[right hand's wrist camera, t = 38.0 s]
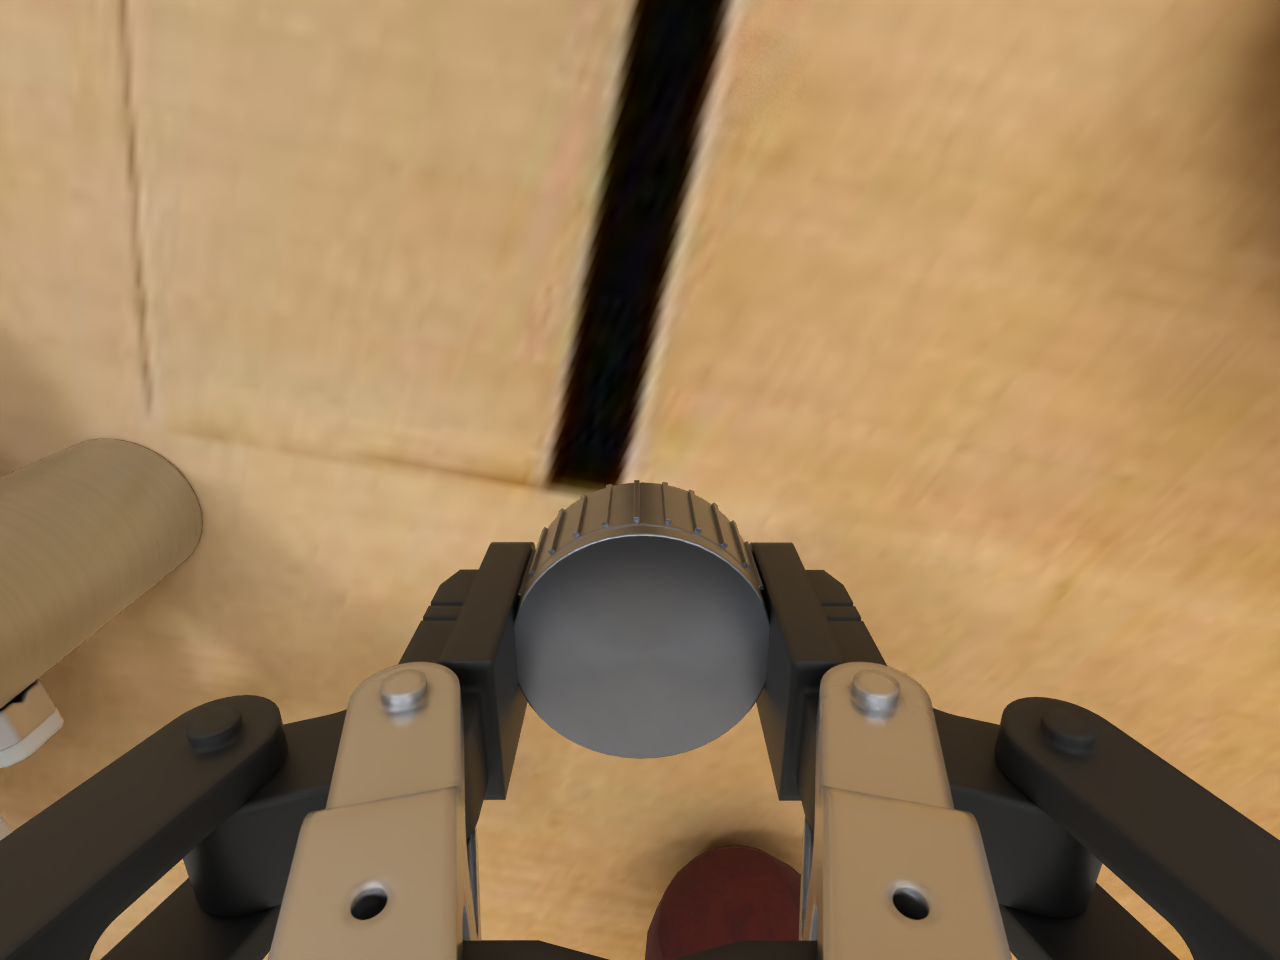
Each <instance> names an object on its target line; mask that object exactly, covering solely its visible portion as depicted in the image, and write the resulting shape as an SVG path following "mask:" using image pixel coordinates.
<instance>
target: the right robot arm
mask: <svg viewBox="0 0 1280 960" xmlns="http://www.w3.org/2000/svg"><path fill="white" fill-rule="evenodd" d="M749 546H750V549H751V552H752V555H753V558H754V561H755V564H756V567H757V570H758V572H759V575H760V578H761V581H762V584H763V587H764V590H762V591H761V593H762V596H763V599H764V602H765V605H766V608H767V611H768V614H769V618H770V631H769V644H768V658H767V671H766V683H765V686H764V688H763V690H762V692H761V694H760V696H759V698H758V699H757V701H756V703H757V708H758V712H759V716H760V721H761V725H762V729H763V733H764V738H765V742H766V746H767V750H768V755H769V759H770V763H771V768H772V772H773V776H774V780H775V785H776V789H777V793H778V797H779V801H802V805H803V808H804V812H805V822H804V831H803V840H802V864H801V892H800V920H799V940H741V941H738V942H734V943H730V944H727V945H723V946H719V947H716V948H712V949H708V950H705V951H701V952H697V953H694V954H690V955H686V956H683V957H679V958H675V959H672V960H1012V957H1011V953H1010V951H1011V952H1012V954H1013V955H1014V956H1015V957H1016V958H1017V959H1018V960H1179V959H1178V958H1177V957H1176V956H1175V955H1174V954H1173V953H1172V952H1171V951H1170V950H1168V949H1167V948H1166V947H1165V946H1164V945H1163V944H1162V943H1161V942H1160V941H1159V940H1158V939H1157V938H1156V937H1154V936H1153V935H1152V934H1151V933H1150V932H1149V931H1148V930H1147V929H1146V928H1145V927H1144V926H1143V925H1142V924H1140V923H1139V922H1138V921H1137V920H1136V919H1135V918H1134V917H1133V916H1132V915H1131V914H1130V913H1129V912H1128V911H1126V910H1125V909H1124V908H1123V907H1122V906H1121V905H1120V904H1119V903H1118V902H1117V901H1116V900H1115V899H1114V898H1112V897H1111V896H1110V895H1109V894H1108V893H1107V892H1106V891H1105V890H1104V889H1103V888H1102V887H1101V886H1100V885H1098V884H1097V883H1096V881H1097V878H1098V875H1099V872H1100V869H1101V866H1102V863H1103V864H1104V865H1105V866H1106V867H1108V868H1109V869H1110V870H1111V871H1112V872H1113V873H1114V874H1115V875H1116V876H1118V877H1119V878H1120V879H1121V880H1122V881H1123V882H1124V883H1125V884H1127V885H1128V886H1129V887H1130V888H1131V889H1132V890H1133V891H1134V892H1135V893H1137V894H1138V895H1139V896H1140V897H1141V898H1142V899H1143V900H1144V901H1146V902H1147V903H1148V904H1149V905H1150V906H1151V907H1152V908H1153V909H1155V910H1156V911H1157V912H1158V913H1159V914H1160V915H1161V916H1162V917H1163V918H1165V919H1166V920H1167V921H1168V922H1169V923H1170V924H1171V925H1172V926H1173V927H1174V928H1175V929H1176V931H1177V932H1178V933H1179V934H1180V935H1181V937H1182V938H1183V940H1184V941H1185V943H1186V944H1187V946H1188V948H1189V949H1190V952H1191V954H1192V956H1193V958H1194V960H1280V840H1278V839H1277V838H1275V837H1274V836H1273V835H1271V834H1270V833H1268V832H1267V831H1265V830H1264V829H1262V828H1261V827H1260V826H1258V825H1257V824H1255V823H1254V822H1252V821H1251V820H1249V819H1248V818H1247V817H1245V816H1244V815H1242V814H1241V813H1239V812H1238V811H1237V810H1235V809H1234V808H1232V807H1231V806H1229V805H1228V804H1226V803H1225V802H1224V801H1222V800H1221V799H1219V798H1218V797H1216V796H1215V795H1213V794H1212V793H1211V792H1209V791H1208V790H1206V789H1205V788H1203V787H1202V786H1201V785H1199V784H1198V783H1196V782H1195V781H1193V780H1192V779H1190V778H1189V777H1188V776H1186V775H1185V774H1183V773H1182V772H1180V771H1179V770H1177V769H1176V768H1175V767H1173V766H1172V765H1170V764H1169V763H1167V762H1166V761H1165V760H1163V759H1162V758H1160V757H1159V756H1157V755H1156V754H1154V753H1153V752H1152V751H1150V750H1149V749H1147V748H1146V747H1144V746H1143V745H1142V744H1140V743H1139V742H1137V741H1136V740H1134V739H1133V738H1131V737H1130V736H1129V735H1127V734H1126V733H1124V732H1123V731H1121V730H1120V729H1118V728H1117V727H1116V726H1114V725H1113V724H1111V723H1110V722H1108V721H1107V720H1105V719H1104V718H1102V717H1100V716H1099V715H1097V714H1095V713H1093V712H1091V711H1089V710H1087V709H1085V708H1082V707H1080V706H1078V705H1075V704H1072V703H1069V702H1065V701H1061V700H1057V699H1051V698H1044V697H1028V698H1022V699H1018V700H1016V701H1013V702H1011V703H1010V704H1009V705H1007V707H1006V708H1005V709H1004V711H1003V714H1002V718H1001V723H1000V725H997V724H993V723H988V722H983V721H979V720H974V719H969V718H965V717H960V716H956V715H952V714H948V713H945V712H942V711H939V710H937V709H934V708H933V707H932V703H931V700H930V697H929V695H928V694H927V692H926V690H925V689H924V688H923V687H922V686H921V685H920V684H919V683H918V682H917V681H915V680H914V679H913V678H911V677H910V676H908V675H907V674H905V673H903V672H901V671H899V670H896V669H894V668H891V667H888V666H887V665H886V663H885V661H884V659H883V657H882V656H881V654H880V652H879V650H878V648H877V646H876V644H875V643H874V641H873V639H872V637H871V635H870V633H869V631H868V630H867V628H866V626H865V624H864V622H863V621H861V617H860V615H859V613H858V611H857V609H856V607H855V606H853V602H852V600H851V598H850V596H849V594H848V593H847V591H846V589H845V587H844V585H843V584H841V583H840V582H839V581H837V580H836V579H835V578H833V577H832V576H831V575H829V574H828V573H827V572H825V571H824V570H805V569H804V567H803V564H802V562H801V560H800V558H799V556H798V553H797V551H796V549H795V547H794V545H793V543H750V544H749ZM533 549H534V550H536V549H535V545H534V543H533V542H492V543H491V544H490V546H489V548H488V550H487V552H486V555H485V557H484V559H483V561H482V564H481V566H480V568H479V570H459V571H458V572H457V573H455V574H454V575H453V576H451V577H450V578H449V579H447V580H446V581H445V582H443V583H442V584H441V585H440V586H439V588H438V590H437V592H436V594H435V596H434V598H433V600H432V601H431V606H429V607H428V609H427V611H426V613H425V615H424V616H423V621H421V622H420V624H419V626H418V628H417V630H416V632H415V633H414V635H413V637H412V639H411V641H410V643H409V645H408V647H407V649H406V650H405V652H404V654H403V656H402V658H401V660H400V662H399V664H398V665H395V666H392V667H389V668H386V669H384V670H381V671H379V672H377V673H375V674H373V675H372V676H370V677H369V678H367V679H366V680H365V681H363V682H362V683H361V684H360V685H359V686H358V687H357V688H356V689H355V690H354V692H353V694H352V695H351V697H350V700H349V703H348V707H347V709H346V710H344V711H341V712H338V713H334V714H330V715H326V716H322V717H317V718H312V719H308V720H303V721H298V722H294V723H289V724H284V725H283V723H282V719H281V714H280V711H279V708H278V707H277V705H276V704H275V703H274V702H272V701H271V700H269V699H266V698H264V697H259V696H252V695H242V696H232V697H226V698H222V699H218V700H214V701H211V702H208V703H205V704H203V705H201V706H198V707H196V708H194V709H192V710H190V711H188V712H186V713H184V714H182V715H181V716H179V717H178V718H176V719H174V720H173V721H172V722H170V723H169V724H167V725H166V726H164V727H163V728H162V729H160V730H159V731H157V732H156V733H154V734H153V735H151V736H150V737H149V738H147V739H146V740H144V741H143V742H141V743H140V744H139V745H137V746H136V747H134V748H133V749H131V750H130V751H128V752H127V753H126V754H124V755H123V756H121V757H120V758H118V759H117V760H115V761H114V762H113V763H111V764H110V765H108V766H107V767H105V768H104V769H103V770H101V771H100V772H98V773H97V774H95V775H94V776H92V777H91V778H90V779H88V780H87V781H85V782H84V783H82V784H81V785H79V786H78V787H77V788H75V789H74V790H72V791H71V792H69V793H68V794H67V795H65V796H64V797H62V798H61V799H59V800H58V801H56V802H55V803H54V804H52V805H51V806H49V807H48V808H46V809H45V810H44V811H42V812H41V813H39V814H38V815H36V816H35V817H33V818H32V819H31V820H29V821H28V822H26V823H25V824H23V825H22V826H20V827H19V828H18V829H16V830H15V831H13V832H12V833H10V834H9V835H8V836H6V837H5V838H3V839H2V840H0V960H89V959H90V955H91V953H92V950H93V948H94V946H95V944H96V943H97V941H98V939H99V938H100V936H101V935H102V933H103V932H104V931H105V929H106V928H107V927H108V926H109V925H110V924H111V923H112V922H113V921H114V920H115V919H116V918H117V917H118V916H119V915H120V914H121V913H122V912H123V911H124V910H126V909H127V908H128V907H129V906H130V905H131V904H132V903H133V902H134V901H136V900H137V899H138V898H139V897H140V896H141V895H142V894H143V893H145V892H146V891H147V890H148V889H149V888H150V887H151V886H152V885H153V884H155V883H156V882H157V881H158V880H159V879H160V878H161V877H162V876H164V875H165V874H166V873H167V872H168V871H169V870H170V869H171V868H173V867H174V866H175V865H176V864H177V863H178V862H179V861H180V860H181V859H183V860H184V864H185V867H186V870H187V873H188V876H189V878H188V879H187V880H186V881H185V882H184V883H183V884H182V885H180V886H179V887H178V888H177V889H176V890H175V891H174V892H173V893H172V894H171V895H170V896H169V897H168V898H166V899H165V900H164V901H163V902H162V903H161V904H160V905H159V906H158V907H157V908H156V909H155V910H154V911H152V912H151V913H150V914H149V915H148V916H147V917H146V918H145V919H144V920H143V921H142V922H141V923H140V924H138V925H137V926H136V927H135V928H134V929H133V930H132V931H131V932H130V933H129V934H128V935H127V936H126V937H124V938H123V939H122V940H121V941H120V942H119V943H118V944H117V945H116V946H115V947H114V948H113V949H112V950H110V951H109V952H108V953H107V954H106V955H105V956H104V957H103V958H102V959H101V960H262V959H263V958H264V957H265V956H266V955H267V954H268V952H269V951H270V953H269V957H268V960H608V959H605V958H601V957H597V956H594V955H590V954H586V953H583V952H579V951H575V950H572V949H568V948H564V947H561V946H557V945H553V944H550V943H546V942H542V941H539V940H481V920H480V892H479V864H478V840H477V831H476V824H477V822H478V818H479V815H480V811H481V807H482V803H483V800H505V799H506V794H507V790H508V786H509V781H510V777H511V772H512V768H513V764H514V759H515V755H516V750H517V746H518V741H519V737H520V733H521V728H522V724H523V719H524V715H525V711H526V706H527V702H528V701H527V700H526V698H525V696H524V695H523V693H522V691H521V689H520V687H519V684H518V672H517V658H516V645H515V631H514V617H515V614H516V611H517V608H518V604H519V601H520V599H518V592H519V589H520V586H521V583H522V580H523V577H524V574H525V571H526V568H527V565H528V562H529V559H530V556H531V553H532V550H533Z"/></svg>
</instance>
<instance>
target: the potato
mask: <svg viewBox="0 0 1280 960" xmlns="http://www.w3.org/2000/svg"><path fill="white" fill-rule="evenodd" d="M800 892H801V875H800V874H799V873H798V872H797V871H795V870H794V869H793V868H792V867H791V866H789V865H788V864H786V863H784V862H782V861H780V860H778V859H776V858H775V857H773V856H771V855H769V854H767V853H765V852H763V851H761V850H759V849H756V848H751V847H746V846H741V845H739V846H728V847H719V848H716V849H714V850H711V851H709V852H706V853H704V854H701V855H699V856H698V857H696V858H694V859H693V860H692V861H690V862H689V863H688V864H687V865H686V866H685V867H683V868H682V869H681V870H680V871H679V872H678V873H677V874H676V876H675V877H674V879H673V880H672V881H671V883H670V884H669V886H668V887H667V889H666V891H665V893H664V895H663V897H662V899H661V901H660V903H659V905H658V907H657V909H656V912H655V914H654V917H653V919H652V922H651V924H650V927H649V930H648V934H647V944H646V954H645V960H672V959H675V958H679V957H683V956H686V955H690V954H694V953H697V952H701V951H705V950H708V949H712V948H716V947H719V946H723V945H727V944H730V943H734V942H738V941H741V940H799V920H800Z"/></svg>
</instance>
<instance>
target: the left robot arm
mask: <svg viewBox="0 0 1280 960" xmlns="http://www.w3.org/2000/svg"><path fill="white" fill-rule="evenodd" d="M63 723H64V720H63V718H62V716H61V715H60V713H59V711H58V710H57V708H56V706H55V704H54V703H53V701H52V700H51V698H50V696H49V695H48V693H47V692H46V690H45V688H44V687H43V685H42V684H41V682H40V680H39V679H37V680H35V681H34V682H33V683H32V684H30V685H29V686H28V687H27V688H26V689H24V690H23V691H22V692H21V693H19V694H18V695H17V696H16V697H14V698H13V699H12V700H11V701H9V702H8V703H7V704H6V705H4V706H3V707H2V708H1V709H0V768H4V767H9V766H11V765H13V764H15V763H18V762H20V761H22V760H24V759H26V758H27V757H29V756H30V755H32V754H33V753H34V752H35V751H36V750H37V749H38V748H40V747H41V746H42V745H43V744H44V743H45V742H46V741H47V740H48V739H49V738H51V737H52V736H53V735H54V734H55V733H56V732H57V731H58V730H59V729H61V728H62V727H63ZM12 832H13V831H12V829H11V828H10V826H9V825H8V823H7V822H6V820H5V819H4V817H3V816H2V814H1V813H0V840H2V839H3V838H5V837H6V836H8V835H9V834H10V833H12Z"/></svg>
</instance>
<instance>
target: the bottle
mask: <svg viewBox="0 0 1280 960" xmlns="http://www.w3.org/2000/svg"><path fill="white" fill-rule="evenodd" d="M201 531H202V515H201V510H200V506H199V503H198V500H197V497H196V495H195V493H194V491H193V489H192V488H191V486H190V485H189V483H188V482H187V480H186V479H185V478H184V477H183V475H182V474H181V473H180V472H179V471H178V470H177V469H176V468H175V467H174V466H173V465H172V464H170V463H169V462H168V461H167V460H165V459H164V458H163V457H161V456H159V455H158V454H156V453H155V452H153V451H151V450H149V449H147V448H145V447H142V446H140V445H137V444H134V443H131V442H127V441H123V440H116V439H94V440H89V441H85V442H81V443H79V444H76V445H74V446H72V447H69V448H67V449H65V450H62V451H60V452H58V453H55V454H53V455H51V456H48V457H46V458H44V459H42V460H39V461H37V462H35V463H32V464H30V465H28V466H25V467H23V468H21V469H18V470H16V471H14V472H11V473H9V474H7V475H4V476H2V477H0V709H1V708H2V707H3V706H4V705H6V704H7V703H8V702H9V701H11V700H12V699H13V698H14V697H16V696H17V695H18V694H19V693H21V692H22V691H23V690H24V689H26V688H27V687H28V686H29V685H30V684H32V683H33V682H34V681H35V680H37V679H38V678H39V677H40V676H42V675H43V674H44V673H45V672H47V671H48V670H49V669H50V668H52V667H53V666H54V665H55V664H57V663H58V662H59V661H60V660H62V659H63V658H64V657H65V656H67V655H68V654H69V653H70V652H72V651H73V650H74V649H75V648H77V647H78V646H79V645H80V644H82V643H83V642H84V641H85V640H87V639H88V638H89V637H90V636H92V635H93V634H94V633H95V632H97V631H98V630H99V629H100V628H102V627H103V626H104V625H105V624H107V623H108V622H109V621H110V620H112V619H113V618H114V617H115V616H117V615H118V614H119V613H120V612H122V611H123V610H124V609H125V608H127V607H128V606H129V605H130V604H132V603H133V602H134V601H135V600H137V599H138V598H139V597H140V596H142V595H143V594H144V593H145V592H147V591H148V590H149V589H150V588H152V587H153V586H154V585H155V584H157V583H158V582H159V581H160V580H162V579H163V578H164V577H165V576H167V575H168V574H169V573H170V572H172V571H173V570H174V569H175V568H177V567H178V566H179V565H180V564H181V563H183V562H184V561H185V560H186V559H187V558H188V557H189V556H190V555H191V554H192V553H193V551H194V550H195V548H196V546H197V544H198V542H199V539H200V535H201Z"/></svg>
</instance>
